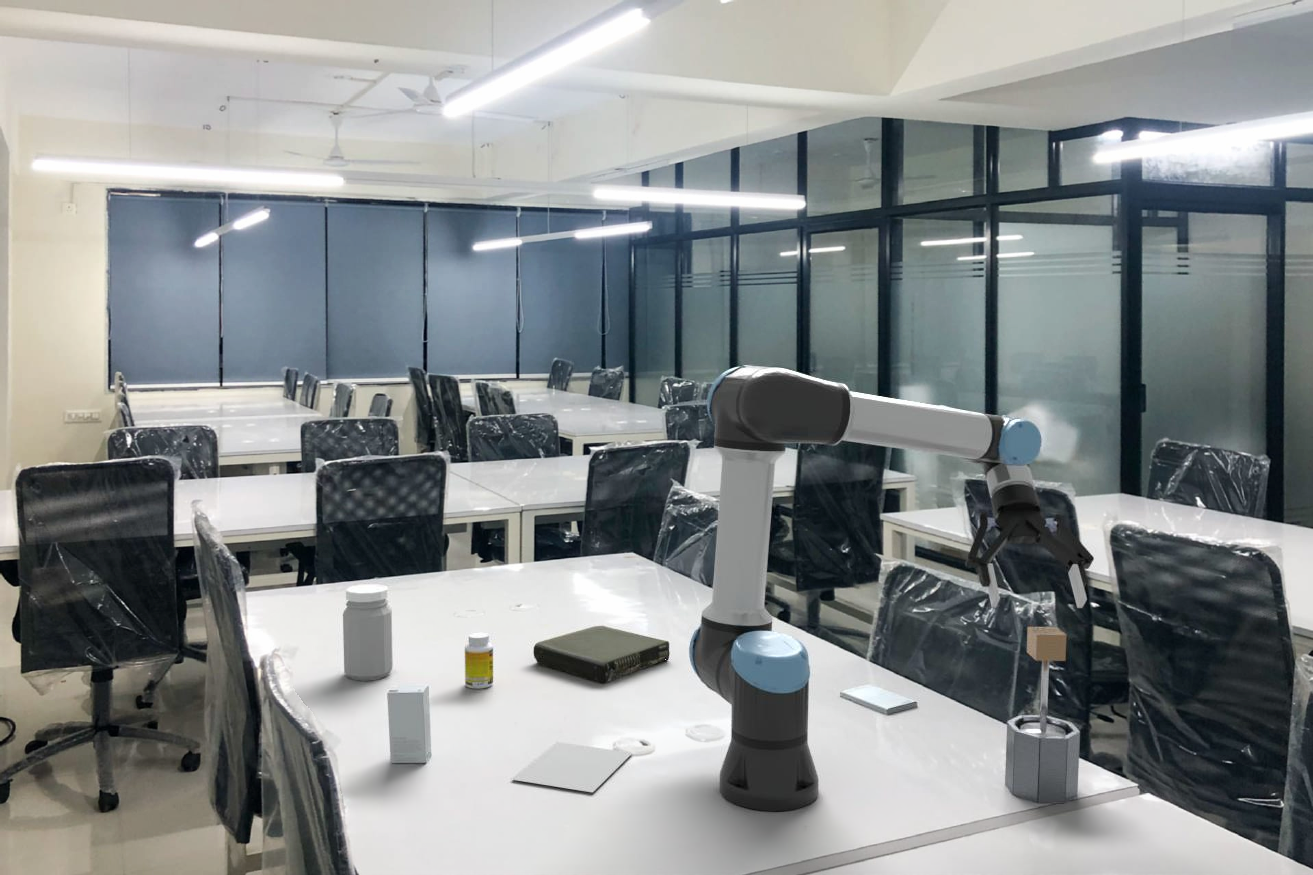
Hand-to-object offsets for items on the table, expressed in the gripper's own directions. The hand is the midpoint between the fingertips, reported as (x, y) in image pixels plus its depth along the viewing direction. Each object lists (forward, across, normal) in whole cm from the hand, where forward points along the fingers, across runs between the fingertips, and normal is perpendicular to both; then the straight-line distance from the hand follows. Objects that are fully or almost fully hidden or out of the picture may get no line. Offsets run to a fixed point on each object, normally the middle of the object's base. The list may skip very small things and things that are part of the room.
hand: (1039, 603), depth 171 cm
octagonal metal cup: (+24, +1, -14) cm, 28 cm away
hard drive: (-3, +19, -43) cm, 47 cm away
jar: (-13, +121, -52) cm, 132 cm away
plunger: (+18, +1, -8) cm, 20 cm away
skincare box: (+18, +101, -21) cm, 105 cm away
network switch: (-19, +74, -59) cm, 96 cm away
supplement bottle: (-8, +97, -48) cm, 108 cm away
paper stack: (+17, +77, -23) cm, 82 cm away
